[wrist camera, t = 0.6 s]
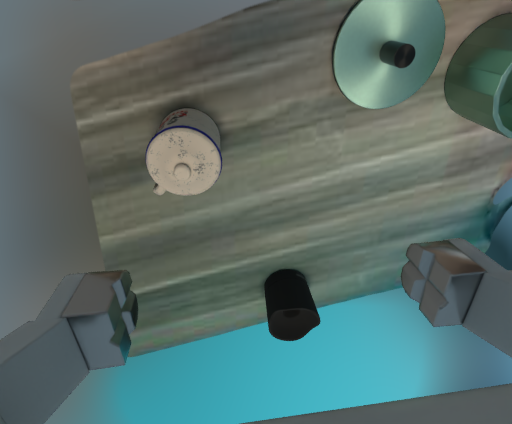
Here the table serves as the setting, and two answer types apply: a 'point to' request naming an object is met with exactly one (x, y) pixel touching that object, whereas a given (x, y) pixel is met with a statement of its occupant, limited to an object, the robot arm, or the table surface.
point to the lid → (387, 50)
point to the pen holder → (289, 306)
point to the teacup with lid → (185, 153)
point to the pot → (484, 76)
